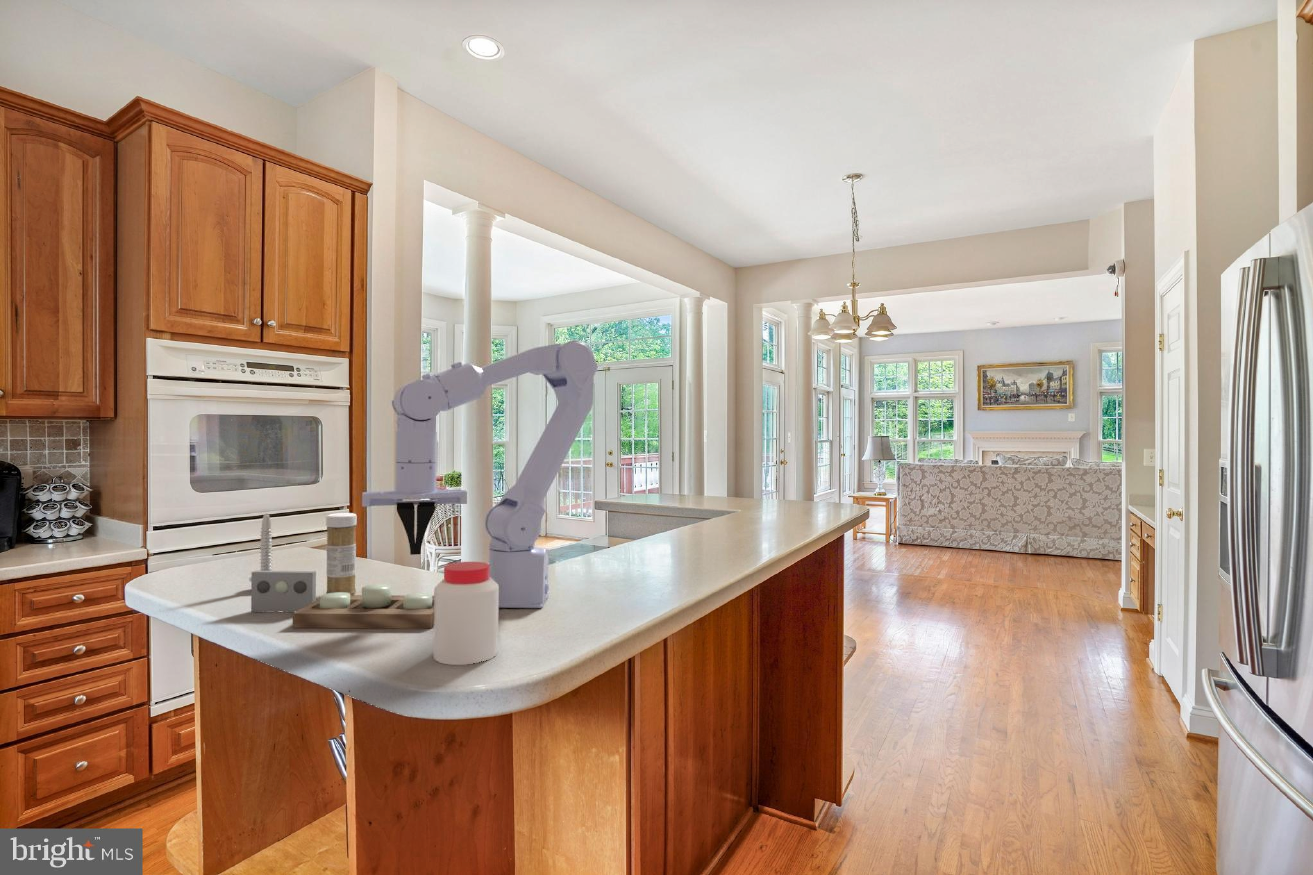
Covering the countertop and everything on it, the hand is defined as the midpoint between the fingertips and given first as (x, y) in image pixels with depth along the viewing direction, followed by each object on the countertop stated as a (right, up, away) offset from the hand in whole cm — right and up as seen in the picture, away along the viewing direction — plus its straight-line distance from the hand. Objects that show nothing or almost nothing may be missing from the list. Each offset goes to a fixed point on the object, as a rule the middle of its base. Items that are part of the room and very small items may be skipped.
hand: (415, 553), depth 96 cm
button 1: (-11, -8, -2) cm, 14 cm away
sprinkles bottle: (-17, -9, +11) cm, 22 cm away
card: (-20, -9, +1) cm, 22 cm away
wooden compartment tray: (-5, -9, -1) cm, 11 cm away
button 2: (+1, -9, -1) cm, 9 cm away
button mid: (-5, -7, -1) cm, 9 cm away
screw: (-31, -9, +14) cm, 35 cm away
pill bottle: (+12, -10, -16) cm, 22 cm away
